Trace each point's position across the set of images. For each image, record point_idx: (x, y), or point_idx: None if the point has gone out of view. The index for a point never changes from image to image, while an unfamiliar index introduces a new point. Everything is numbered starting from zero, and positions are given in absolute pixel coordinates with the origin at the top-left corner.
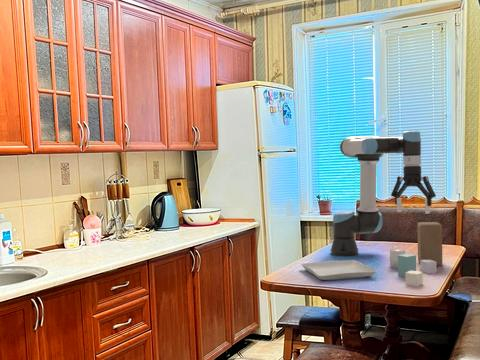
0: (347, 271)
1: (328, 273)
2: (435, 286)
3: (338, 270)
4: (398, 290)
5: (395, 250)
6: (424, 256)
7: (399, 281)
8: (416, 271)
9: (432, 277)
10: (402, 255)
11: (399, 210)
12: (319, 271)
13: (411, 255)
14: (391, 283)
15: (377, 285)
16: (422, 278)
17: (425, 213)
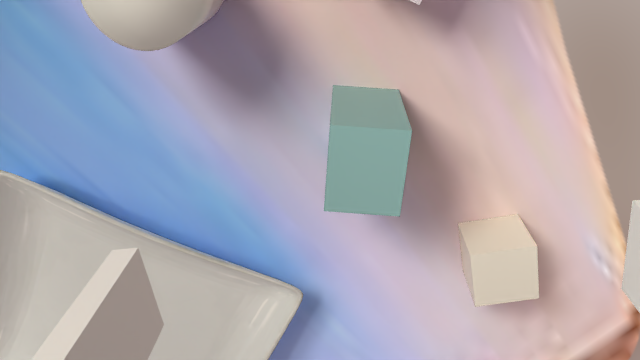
0: None
1: None
2: (589, 214)
3: None
4: (493, 356)
5: (130, 4)
6: None
7: (412, 250)
8: (505, 256)
9: (493, 68)
10: (350, 198)
11: (147, 319)
12: None
13: (393, 159)
14: (407, 297)
15: (386, 353)
16: (526, 229)
17: (627, 290)
